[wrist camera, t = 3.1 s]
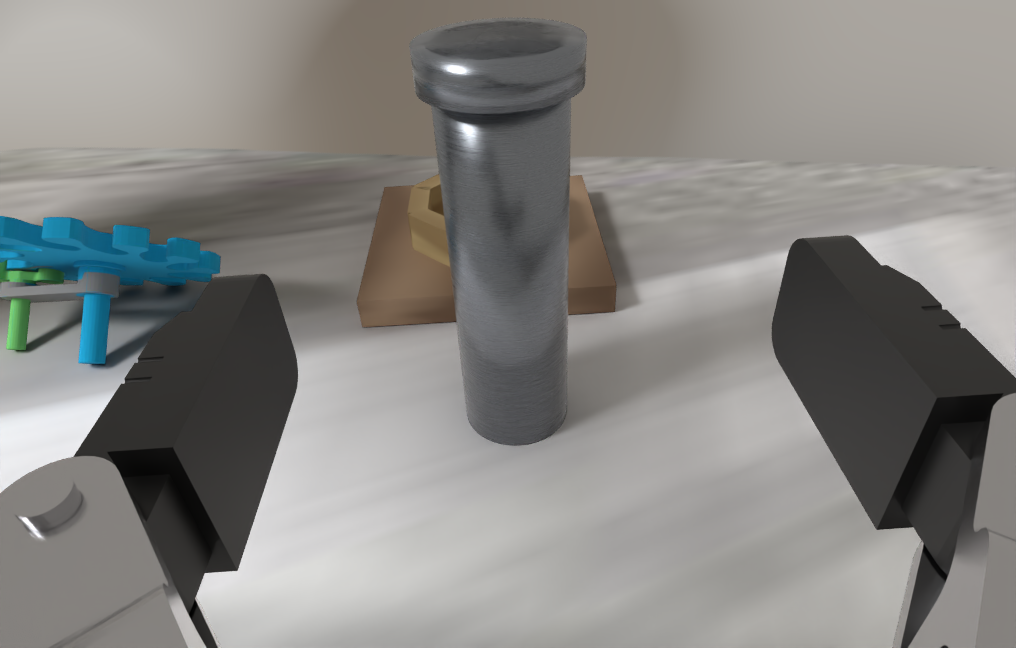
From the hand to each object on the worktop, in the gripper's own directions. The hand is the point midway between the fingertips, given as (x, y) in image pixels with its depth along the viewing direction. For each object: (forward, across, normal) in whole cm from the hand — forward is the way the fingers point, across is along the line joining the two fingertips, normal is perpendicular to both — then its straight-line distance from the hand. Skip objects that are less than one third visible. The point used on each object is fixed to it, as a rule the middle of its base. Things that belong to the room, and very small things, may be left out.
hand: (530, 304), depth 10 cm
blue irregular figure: (+18, +19, +12) cm, 29 cm away
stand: (+23, +1, +12) cm, 26 cm away
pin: (+11, 0, +12) cm, 16 cm away
